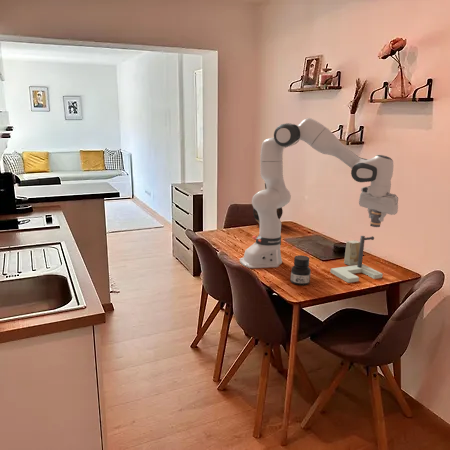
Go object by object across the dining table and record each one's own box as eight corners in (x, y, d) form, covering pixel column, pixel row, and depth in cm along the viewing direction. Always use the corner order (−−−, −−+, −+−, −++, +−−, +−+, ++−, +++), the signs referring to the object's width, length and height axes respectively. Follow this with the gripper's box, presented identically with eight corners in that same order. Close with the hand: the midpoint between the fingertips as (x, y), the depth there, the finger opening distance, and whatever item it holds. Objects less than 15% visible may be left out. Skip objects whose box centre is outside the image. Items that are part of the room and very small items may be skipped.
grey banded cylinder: (375, 227, 194) (378, 211, 191) (367, 225, 197) (370, 208, 195) (382, 226, 196) (384, 210, 194) (374, 224, 200) (376, 208, 198)
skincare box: (349, 266, 215) (351, 243, 212) (343, 263, 219) (345, 241, 216) (358, 264, 218) (361, 242, 215) (352, 261, 222) (355, 239, 219)
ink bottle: (287, 284, 190) (289, 259, 187) (291, 277, 198) (293, 253, 195) (309, 287, 187) (311, 262, 184) (311, 280, 195) (313, 256, 192)
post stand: (348, 282, 193) (352, 246, 189) (330, 272, 206) (333, 237, 201) (386, 277, 201) (390, 241, 197) (366, 267, 214) (370, 233, 209)
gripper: (403, 194, 185) (398, 224, 189) (368, 186, 202) (364, 214, 206) (393, 195, 182) (389, 225, 186) (358, 187, 199) (355, 215, 203)
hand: (375, 219), depth 196 cm, fingers closed on grey banded cylinder, 4 cm apart
